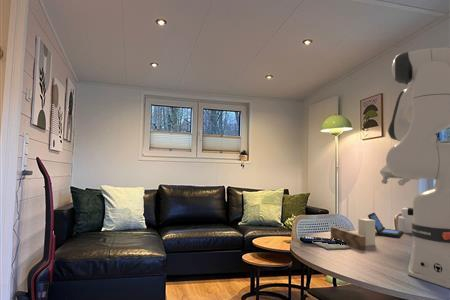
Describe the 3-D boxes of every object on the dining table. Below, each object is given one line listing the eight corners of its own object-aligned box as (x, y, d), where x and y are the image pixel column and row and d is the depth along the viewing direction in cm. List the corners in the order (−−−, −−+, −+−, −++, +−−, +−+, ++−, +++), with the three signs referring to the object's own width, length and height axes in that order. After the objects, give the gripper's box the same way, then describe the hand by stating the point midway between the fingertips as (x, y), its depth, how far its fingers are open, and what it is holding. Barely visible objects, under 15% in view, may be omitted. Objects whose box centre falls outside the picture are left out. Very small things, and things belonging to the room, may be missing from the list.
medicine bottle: (412, 230, 161) (412, 207, 161) (420, 233, 153) (419, 209, 154) (398, 230, 161) (397, 206, 162) (404, 233, 154) (404, 208, 155)
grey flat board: (350, 248, 120) (350, 246, 120) (327, 250, 118) (327, 247, 118) (332, 241, 132) (332, 238, 132) (311, 242, 130) (311, 239, 130)
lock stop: (375, 245, 128) (375, 220, 128) (365, 245, 126) (365, 220, 127) (367, 242, 132) (367, 218, 132) (358, 242, 131) (358, 218, 131)
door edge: (365, 249, 120) (365, 236, 120) (360, 249, 119) (360, 236, 119) (334, 238, 139) (334, 226, 139) (330, 238, 139) (330, 226, 139)
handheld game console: (398, 238, 142) (398, 218, 142) (367, 234, 150) (367, 215, 150) (403, 233, 154) (403, 214, 155) (373, 229, 162) (373, 211, 163)
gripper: (387, 156, 146) (370, 177, 143) (425, 155, 126) (406, 179, 124) (395, 166, 147) (378, 187, 144) (434, 166, 127) (415, 190, 124)
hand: (391, 183), depth 134 cm, fingers open, 8 cm apart
